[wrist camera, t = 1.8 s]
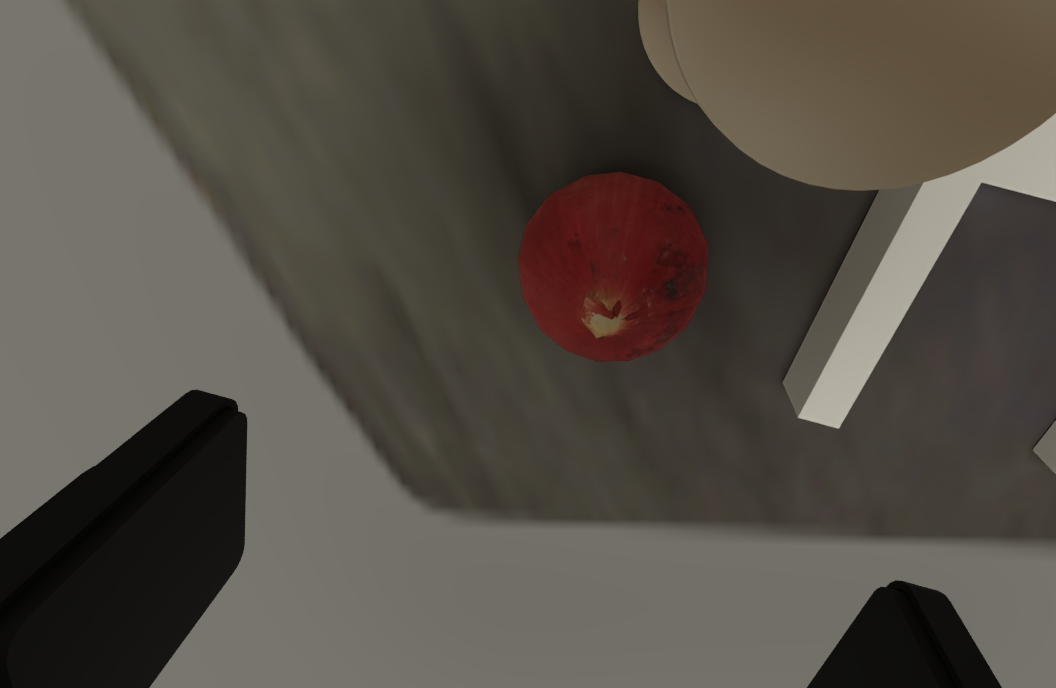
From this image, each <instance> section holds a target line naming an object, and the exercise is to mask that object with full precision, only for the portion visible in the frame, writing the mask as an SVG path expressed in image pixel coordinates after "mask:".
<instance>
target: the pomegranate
mask: <svg viewBox="0 0 1056 688" xmlns="http://www.w3.org/2000/svg"><path fill="white" fill-rule="evenodd" d="M518 268H519V275H520V282H521V289H522V296H523V299H524V301H525V303H526V304H527V306H528V308H529V310H530V312H531V313H532V315H533V317H534V319H535V321H536V322H537V324H538V326H539V328H540V329H541V331H542V332H544V333H545V334H546V335H547V336H548V337H550V338H551V339H552V340H553V341H555V342H556V343H557V344H558V345H560V346H561V347H562V348H563V349H564V350H566V351H568V352H571V353H574V354H577V355H580V356H583V357H586V358H589V359H591V360H594V361H630V360H632V359H635V358H638V357H641V356H644V355H646V354H649V353H652V352H655V351H658V350H659V349H660V348H662V347H663V346H664V345H665V344H667V343H668V342H669V341H670V340H672V339H673V338H674V337H675V336H677V335H678V334H679V333H680V332H682V331H683V330H684V329H685V328H686V326H687V325H688V324H689V322H690V320H691V318H692V316H693V314H694V312H695V310H696V308H697V306H698V304H699V302H700V300H701V298H702V296H703V294H704V292H705V290H706V274H707V241H706V239H705V237H704V234H703V232H702V230H701V228H700V226H699V224H698V222H697V220H696V218H695V216H694V214H693V212H692V210H691V208H690V206H689V205H688V204H687V203H686V202H684V201H683V200H682V199H680V198H679V197H678V196H676V195H675V194H674V193H672V192H671V191H670V190H668V189H667V188H666V187H664V186H663V185H662V184H660V183H659V182H658V181H654V180H651V179H647V178H643V177H639V176H635V175H632V174H628V173H624V172H614V173H604V174H594V175H585V176H583V177H581V178H580V179H578V180H576V181H574V182H572V183H570V184H568V185H566V186H565V187H563V188H561V189H559V190H557V191H555V192H553V193H551V194H550V195H549V196H548V197H547V198H546V199H545V201H544V202H543V203H542V205H541V206H540V207H539V208H538V210H537V211H536V212H535V213H534V215H533V216H532V217H531V218H530V220H529V221H528V222H527V224H526V227H525V231H524V235H523V239H522V243H521V247H520V251H519V254H518Z"/></svg>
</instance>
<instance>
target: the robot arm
mask: <svg viewBox="0 0 1056 688" xmlns="http://www.w3.org/2000/svg"><path fill="white" fill-rule="evenodd" d="M246 451H247V417H246V415H245V414H244V413H242V412H238V405H237V403H236V401H234V400H232V399H229V398H226V397H222V396H218V395H214V394H210V393H207V392H203V391H200V390H191V391H189V392H188V393H186V394H185V395H183V396H182V397H181V398H180V399H179V400H177V401H176V402H175V403H173V404H172V405H171V406H170V407H168V408H167V409H166V410H165V411H163V412H162V413H161V414H160V415H158V416H157V417H156V418H155V419H153V420H152V421H151V422H150V423H148V424H147V425H146V426H145V427H143V428H142V429H141V430H140V431H138V432H137V433H136V434H135V435H133V436H132V437H131V438H130V439H128V441H126V442H125V443H123V444H122V445H121V446H120V447H119V448H117V449H116V450H115V451H114V452H112V453H111V454H110V455H109V456H107V457H106V458H105V459H104V460H102V461H101V462H100V463H99V464H97V465H96V466H93V467H92V468H90V469H89V470H87V471H85V472H84V473H82V474H81V475H80V476H78V477H77V478H76V479H75V480H74V481H72V482H71V483H70V484H68V485H67V486H66V487H65V488H63V489H62V490H61V491H60V492H58V493H57V494H56V495H55V496H53V497H52V498H51V499H50V500H48V501H47V502H46V503H44V504H43V505H42V506H41V507H39V508H38V509H37V510H36V511H34V512H33V513H32V514H31V515H29V516H28V517H27V518H26V519H24V520H23V521H22V522H21V523H20V524H18V525H17V526H16V527H14V528H13V529H12V530H11V531H10V532H8V533H7V534H6V535H4V536H3V537H2V538H1V539H0V688H149V687H150V686H151V684H152V683H153V682H154V680H155V679H156V678H157V676H158V675H159V673H160V672H161V671H162V669H163V668H164V667H165V665H166V664H167V663H168V661H169V660H170V658H171V657H172V655H173V654H174V653H175V651H176V650H177V649H178V648H179V646H180V645H181V643H182V642H183V641H184V639H185V638H186V637H187V635H188V634H189V633H190V631H191V630H192V628H193V627H194V626H195V624H196V623H197V622H198V620H199V619H200V617H201V616H202V615H203V613H204V612H205V611H206V609H207V608H208V607H209V605H210V604H211V602H212V601H213V600H214V598H215V597H216V595H217V594H218V593H219V591H220V590H221V589H222V587H223V586H224V585H225V583H226V582H227V581H228V579H229V578H230V576H231V575H232V574H233V572H234V571H235V569H236V568H237V566H238V564H239V562H240V560H241V557H242V554H243V550H244V544H245V499H246V453H247V452H246ZM807 688H1002V687H1001V685H1000V684H999V682H998V680H997V679H996V677H995V675H994V674H993V672H992V670H991V669H990V667H989V665H988V664H987V662H986V660H985V659H984V657H983V655H982V654H981V652H980V651H979V649H978V647H977V646H976V644H975V642H974V641H973V639H972V637H971V635H970V634H969V632H968V630H967V629H966V627H965V625H964V624H963V622H962V620H961V619H960V617H959V615H958V614H957V612H956V610H955V609H954V607H953V605H952V604H951V602H950V601H949V599H948V598H947V597H946V596H945V595H944V594H943V593H941V592H939V591H937V590H933V589H929V588H926V587H922V586H918V585H915V584H911V583H907V582H904V581H894V582H891V583H890V584H889V585H888V586H887V587H880V588H878V589H877V590H876V591H874V593H873V594H872V595H871V597H870V598H869V600H868V601H867V603H866V604H865V605H864V607H863V608H862V610H861V611H860V613H859V614H858V615H857V617H856V619H855V620H854V621H853V623H852V624H851V625H850V627H849V628H848V630H847V631H846V633H845V634H844V635H843V637H842V638H841V640H840V641H839V643H838V644H837V646H836V647H835V648H834V650H833V651H832V653H831V654H830V655H829V657H828V658H827V660H826V661H825V663H824V664H823V665H822V667H821V668H820V670H819V671H818V673H817V674H816V676H815V677H814V678H813V680H812V681H811V683H810V684H809V685H808V687H807Z"/></svg>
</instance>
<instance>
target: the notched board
mask: <svg viewBox="0 0 1056 688" xmlns="http://www.w3.org/2000/svg"><path fill="white" fill-rule="evenodd" d="M981 183H986V184H990V185H993V186H997V187H1001V188H1005V189H1009V190H1013V191H1016V192H1020V193H1024V194H1028V195H1032V196H1036V197H1039V198H1043V199H1047V200H1051V201H1055V202H1056V113H1055V114H1054V115H1053V116H1052V117H1050V118H1049V119H1048V120H1047V121H1046V122H1044V123H1043V124H1042V125H1041V126H1039V127H1038V128H1036V129H1035V130H1033V131H1032V132H1030V133H1029V134H1027V135H1026V136H1024V137H1023V138H1021V139H1020V140H1018V141H1017V142H1015V143H1014V144H1012V145H1011V146H1009V147H1007V148H1005V149H1004V150H1002V151H1000V152H998V153H996V154H994V155H992V156H991V157H989V158H987V159H985V160H983V161H981V162H979V163H977V164H974V165H972V166H970V167H967V168H965V169H962V170H960V171H958V172H955V173H953V174H950V175H947V176H944V177H940V178H937V179H934V180H930V181H927V182H924V183H920V184H915V185H909V186H904V187H899V188H893V189H882V190H879V191H878V193H877V195H876V197H875V199H874V201H873V203H872V205H871V207H870V209H869V211H868V213H867V215H866V217H865V219H864V221H863V223H862V225H861V227H860V229H859V231H858V233H857V235H856V237H855V239H854V241H853V243H852V245H851V247H850V249H849V251H848V253H847V255H846V257H845V259H844V261H843V263H842V265H841V267H840V269H839V271H838V273H837V275H836V277H835V279H834V281H833V283H832V285H831V287H830V289H829V291H828V293H827V295H826V297H825V299H824V301H823V303H822V305H821V307H820V309H819V311H818V313H817V315H816V317H815V319H814V321H813V323H812V325H811V327H810V329H809V331H808V333H807V335H806V337H805V339H804V341H803V343H802V345H801V347H800V349H799V351H798V353H797V355H796V356H795V358H794V360H793V362H792V364H791V366H790V368H789V370H788V372H787V374H786V376H785V378H784V380H783V382H782V383H783V385H784V387H785V389H786V392H787V394H788V396H789V398H790V401H791V403H792V405H793V408H794V410H795V412H796V414H797V417H798V418H801V419H805V420H809V421H812V422H816V423H820V424H823V425H827V426H831V427H835V428H838V429H839V427H840V426H841V424H842V422H843V421H844V419H845V417H846V415H847V414H848V412H849V410H850V409H851V407H852V405H853V403H854V402H855V400H856V398H857V396H858V395H859V393H860V391H861V390H862V388H863V386H864V384H865V383H866V381H867V379H868V377H869V376H870V374H871V372H872V371H873V369H874V367H875V365H876V364H877V362H878V360H879V359H880V357H881V355H882V353H883V352H884V350H885V348H886V346H887V345H888V343H889V341H890V340H891V338H892V336H893V334H894V333H895V331H896V329H897V327H898V326H899V324H900V322H901V321H902V319H903V317H904V315H905V314H906V312H907V310H908V308H909V307H910V305H911V303H912V302H913V300H914V298H915V296H916V295H917V293H918V291H919V290H920V288H921V286H922V284H923V283H924V281H925V279H926V277H927V276H928V274H929V272H930V271H931V269H932V267H933V265H934V264H935V262H936V260H937V258H938V257H939V255H940V253H941V252H942V250H943V248H944V246H945V245H946V243H947V241H948V239H949V238H950V236H951V234H952V233H953V231H954V229H955V227H956V226H957V224H958V222H959V221H960V219H961V217H962V215H963V214H964V212H965V210H966V208H967V207H968V205H969V203H970V202H971V200H972V198H973V196H974V195H975V193H976V191H977V189H978V188H979V186H980V184H981ZM1033 451H1034V452H1035V453H1036V454H1037V455H1038V456H1039V457H1040V459H1041V460H1042V461H1043V462H1044V463H1045V464H1046V465H1047V466H1048V467H1049V468H1050V469H1051V470H1052V471H1053V472H1054V473H1055V474H1056V421H1055V422H1054V423H1053V424H1052V426H1051V427H1050V428H1049V429H1048V431H1047V432H1046V433H1045V435H1044V436H1043V437H1042V438H1041V440H1040V441H1039V442H1038V444H1037V445H1036V446H1035V447H1034V449H1033Z"/></svg>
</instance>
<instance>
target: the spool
mask: <svg viewBox="0 0 1056 688" xmlns="http://www.w3.org/2000/svg"><path fill="white" fill-rule="evenodd" d="M638 21H639V28H640V34H641V38H642V42H643V45H644V48H645V51H646V53H647V55H648V58H649V60H650V61H651V63H652V65H653V67H654V68H655V70H656V71H657V73H658V74H659V75H660V76H661V78H662V79H663V80H664V81H665V82H666V83H667V84H668V85H669V86H670V87H671V88H672V89H673V90H674V91H676V92H677V93H678V94H680V95H681V96H683V97H684V98H686V99H688V100H690V101H692V102H694V103H697V104H698V105H699V106H700V107H701V109H702V110H703V111H704V113H705V114H706V115H707V116H708V118H709V119H710V120H711V122H712V123H713V124H714V125H715V126H716V127H717V128H718V129H719V130H720V131H721V132H722V133H723V134H724V135H725V136H726V137H727V138H728V139H729V140H730V141H731V142H732V143H733V144H734V145H735V146H736V147H737V148H738V149H740V150H741V151H742V152H744V153H745V154H747V155H748V156H749V157H751V158H752V159H754V160H755V161H757V162H758V163H759V164H761V165H763V166H765V167H767V168H769V169H771V170H773V171H775V172H777V173H779V174H781V175H783V176H785V177H788V178H791V179H794V180H797V181H800V182H803V183H806V184H810V185H815V186H820V187H826V188H831V189H840V190H857V191H866V190H882V189H893V188H899V187H904V186H909V185H915V184H920V183H924V182H927V181H930V180H934V179H937V178H940V177H944V176H947V175H950V174H953V173H955V172H958V171H960V170H962V169H965V168H967V167H970V166H972V165H974V164H977V163H979V162H981V161H983V160H985V159H987V158H989V157H991V156H992V155H994V154H996V153H998V152H1000V151H1002V150H1004V149H1005V148H1007V147H1009V146H1011V145H1012V144H1014V143H1015V142H1017V141H1018V140H1020V139H1021V138H1023V137H1024V136H1026V135H1027V134H1029V133H1030V132H1032V131H1033V130H1035V129H1036V128H1038V127H1039V126H1041V125H1042V124H1043V123H1044V122H1046V121H1047V120H1048V119H1049V118H1050V117H1052V116H1053V115H1054V114H1055V113H1056V0H639V2H638Z"/></svg>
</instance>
